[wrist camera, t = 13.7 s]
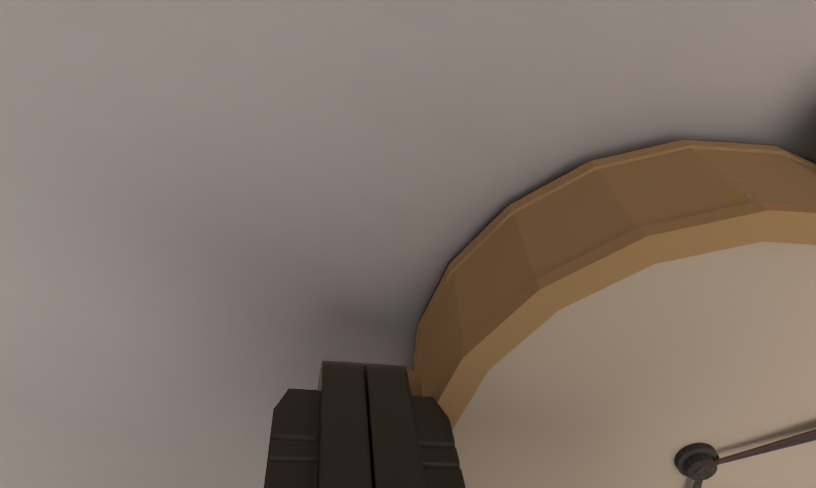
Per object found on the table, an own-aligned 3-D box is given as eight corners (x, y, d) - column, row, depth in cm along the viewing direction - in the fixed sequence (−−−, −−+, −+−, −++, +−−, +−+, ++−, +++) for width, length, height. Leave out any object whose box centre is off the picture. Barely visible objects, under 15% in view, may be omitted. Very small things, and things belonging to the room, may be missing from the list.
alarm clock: (292, 359, 10) (1585, -5, 6) (342, 216, 14) (1129, -55, 10) (505, 681, 15) (1285, 595, 11) (496, 506, 19) (1062, 398, 15)
